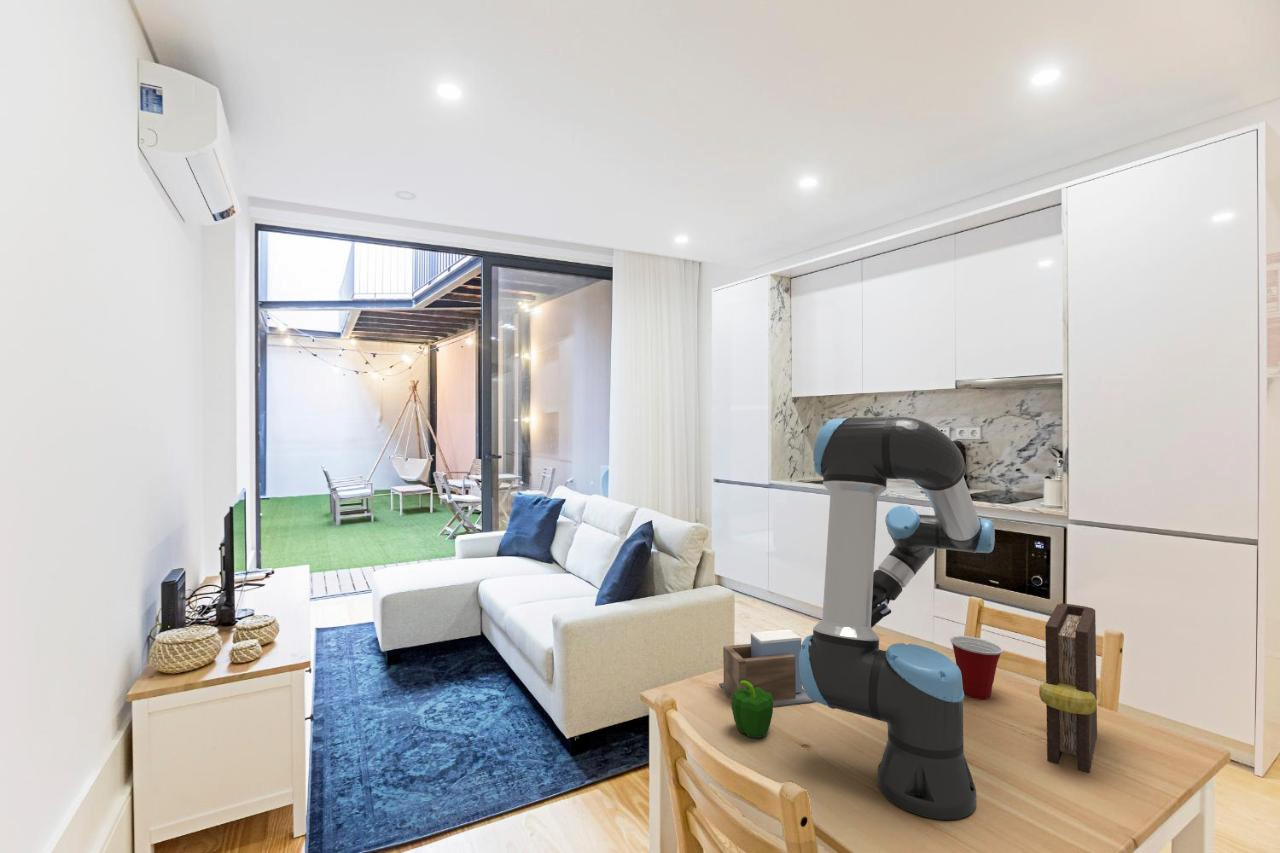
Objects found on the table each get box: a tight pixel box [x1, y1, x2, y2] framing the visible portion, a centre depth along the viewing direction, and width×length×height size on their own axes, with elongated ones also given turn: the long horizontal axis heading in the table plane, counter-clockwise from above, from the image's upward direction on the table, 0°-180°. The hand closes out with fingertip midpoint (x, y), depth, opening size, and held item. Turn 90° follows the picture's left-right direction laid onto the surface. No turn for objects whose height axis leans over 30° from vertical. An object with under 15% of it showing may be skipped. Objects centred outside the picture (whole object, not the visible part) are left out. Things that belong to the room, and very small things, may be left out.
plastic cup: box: [949, 635, 1004, 700], centre depth 140 cm, size 11×11×12 cm
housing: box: [718, 643, 817, 708], centre depth 141 cm, size 14×18×10 cm
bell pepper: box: [730, 680, 774, 739], centre depth 123 cm, size 8×8×10 cm
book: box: [1038, 603, 1098, 774], centre depth 116 cm, size 22×8×25 cm, turn 139°
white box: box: [750, 628, 803, 693], centre depth 142 cm, size 6×10×13 cm, turn 103°
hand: (830, 653), depth 145 cm, fingers closed
